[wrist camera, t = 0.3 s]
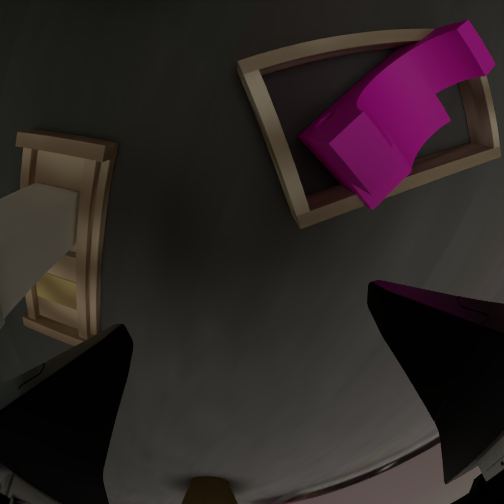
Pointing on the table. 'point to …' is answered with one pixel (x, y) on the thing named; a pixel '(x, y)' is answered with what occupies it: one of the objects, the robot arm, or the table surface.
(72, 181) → the wooden tray
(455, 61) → the toy block
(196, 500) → the plant pot
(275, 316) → the table surface
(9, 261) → the block
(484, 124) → the block pen
